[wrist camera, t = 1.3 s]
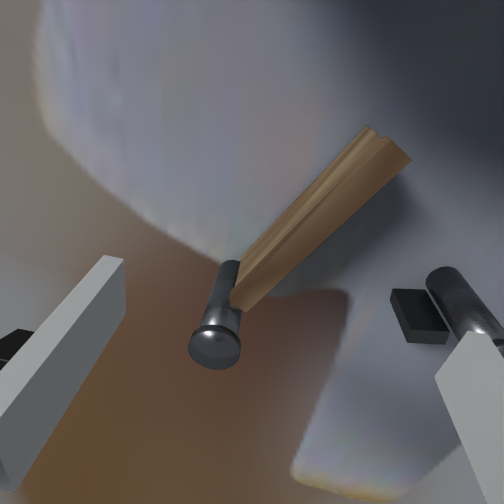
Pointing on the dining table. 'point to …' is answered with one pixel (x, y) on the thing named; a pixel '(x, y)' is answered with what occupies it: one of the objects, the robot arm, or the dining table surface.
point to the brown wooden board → (317, 214)
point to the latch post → (444, 310)
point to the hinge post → (218, 324)
